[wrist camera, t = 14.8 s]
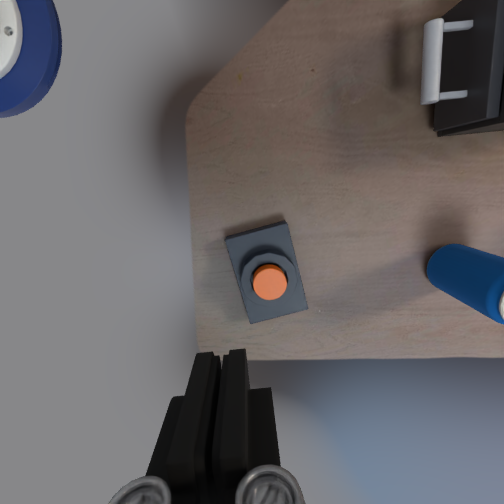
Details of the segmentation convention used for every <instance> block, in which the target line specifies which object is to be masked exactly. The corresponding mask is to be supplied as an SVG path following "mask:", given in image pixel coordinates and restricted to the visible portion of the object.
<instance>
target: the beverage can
mask: <svg viewBox="0 0 504 504" xmlns="http://www.w3.org/2000/svg"><path fill="white" fill-rule="evenodd" d="M427 276H428V279H429V281H430V282H431V283H432V284H433V285H434V286H435V287H437V288H439V289H440V290H442V291H444V292H446V293H447V294H449V295H451V296H453V297H454V298H456V299H458V300H460V301H461V302H463V303H465V304H467V305H468V306H470V307H472V308H473V309H475V310H477V311H479V312H480V313H482V314H484V315H486V316H487V317H489V318H491V319H493V320H494V321H496V322H498V323H501V324H504V258H503V257H500V256H496V255H493V254H490V253H487V252H484V251H480V250H477V249H474V248H471V247H467V246H464V245H461V244H449V245H446V246H443V247H441V248H440V249H438V250H437V251H436V252H435V253H434V254H433V255H432V256H431V258H430V260H429V262H428V265H427Z"/></svg>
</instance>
